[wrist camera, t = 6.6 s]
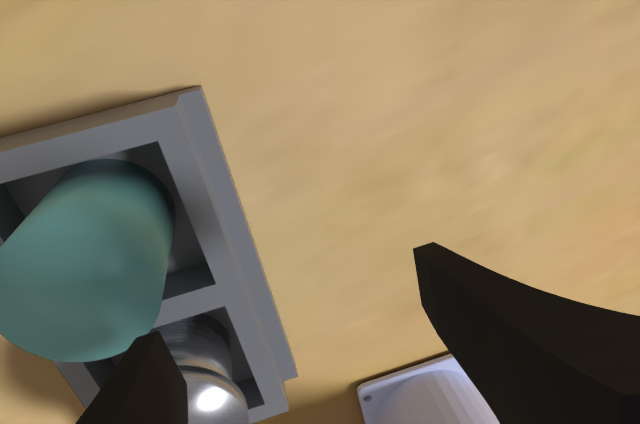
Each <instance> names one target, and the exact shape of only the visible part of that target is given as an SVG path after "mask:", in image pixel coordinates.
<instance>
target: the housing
mask: <svg viewBox="0 0 640 424" xmlns="http://www.w3.org/2000/svg"><path fill="white" fill-rule="evenodd" d="M96 159H118V160H124V161H128V162H131V163H134V164H137V165H139V166H141V167H143V168H145V169H147V170H148V171H150V172H151V173H153V174H154V175H155V176H156V177H157V178H158V179H160V181H161V182H162V183H163V184H164V185H165V187H166V188H167V189H168V191H169V193H170V195H171V197H172V199H173V202H174V206H175V215H176V218H175V226H174V232H173V238H172V244H171V249H170V255H169V261H168V267H167V273H166V279H165V285H164V291H163V297H162V303H161V308H160V312H159V315H158V318H157V320H156V322H155V324H154V326H153V327H152V329H151V330H150V331H149V333H152V332H155V331H158V330H159V332H160V334H161V336H162V338H163V340H164V341H165V343H166V345H167V347H168V349H169V351H170V353H171V355H172V356H173V358H174V360H175V362H176V364H177V366H178V368H179V370H180V371H181V373H182V375H183V377H184V379H185V381H186V383H187V395H188V424H252V423H255V422H258V421H261V420H264V419H267V418H270V417H272V416H275V415H278V414H281V413H284V412H287V411H289V406H288V400H287V395H286V389H285V384H284V381H286V380H289V379H292V378H295V377H298V374H297V370H296V365H295V361H294V358H293V356H292V353H291V350H290V347H289V344H288V341H287V338H286V335H285V332H284V329H283V326H282V323H281V320H280V317H279V314H278V311H277V308H276V305H275V302H274V299H273V296H272V293H271V291H270V288H269V285H268V282H267V279H266V276H265V273H264V270H263V267H262V264H261V261H260V258H259V255H258V252H257V249H256V246H255V243H254V240H253V237H252V234H251V231H250V228H249V226H248V223H247V220H246V217H245V214H244V211H243V208H242V205H241V202H240V199H239V196H238V193H237V190H236V187H235V184H234V181H233V178H232V175H231V172H230V169H229V166H228V163H227V161H226V158H225V155H224V152H223V149H222V146H221V143H220V140H219V137H218V134H217V131H216V128H215V125H214V122H213V119H212V116H211V113H210V110H209V107H208V104H207V101H206V98H205V95H204V93H203V90H202V87H201V85H199V86H196V87H192V88H188V89H184V90H180V91H177V92H173V93H169V94H165V95H161V96H158V97H154V98H150V99H146V100H142V101H139V102H135V103H131V104H127V105H123V106H120V107H116V108H112V109H108V110H104V111H100V112H97V113H93V114H89V115H85V116H81V117H78V118H74V119H70V120H66V121H62V122H59V123H55V124H51V125H47V126H43V127H40V128H36V129H32V130H28V131H24V132H21V133H17V134H13V135H9V136H5V137H2V138H0V247H1V246H2V245H3V244H4V243H5V241H6V240H7V239H8V238H9V237H10V236H11V235H12V233H13V232H14V231H15V230H16V229H17V228H18V227H19V225H20V224H21V223H22V222H23V221H24V220H25V219H26V217H27V216H28V215H29V214H30V213H31V212H32V211H33V209H34V208H35V207H36V206H37V205H38V204H39V203H40V201H41V200H42V199H43V198H44V197H45V196H46V195H47V193H48V192H49V191H50V190H51V189H52V188H53V187H54V185H55V184H56V183H57V182H58V181H59V180H60V179H61V177H62V176H63V175H65V174H66V173H67V172H68V171H69V170H71V169H72V168H74V167H76V166H78V165H80V164H82V163H85V162H88V161H92V160H96ZM149 333H148V334H149ZM126 351H127V350H126ZM126 351H124V352H122V353H120V354H117V355H115V356H112V357H109V358H105V359H101V360H96V361H89V362H64V361H56V360H52V361H53V362H54V364H55V365H56V366H57V368H58V369H59V371H60V372H61V374H62V375H63V377H64V378H65V379H66V381H67V382H68V384H69V385H70V387H71V388H72V389H73V391H74V392H75V394H76V395H77V397H78V398H79V400H80V401H81V402H82V404H83V405H84V407H85V408H86V409H87V408H88V406H89V405H90V404H91V402H92V401H93V399H94V398H95V396H96V395H97V393H98V392H99V391H100V389H101V388H102V386H103V385H104V383H105V382H106V380H107V379H108V378H109V376H110V375H111V373H112V372H113V370H114V369H115V367H116V366H117V364H118V363H119V361H120V360H121V358H122V357H123V355H124V354H125V352H126Z"/></svg>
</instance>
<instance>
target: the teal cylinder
mask: <svg viewBox="0 0 640 424" xmlns="http://www.w3.org/2000/svg"><path fill="white" fill-rule="evenodd" d="M175 218H176V215H175V206H174V202H173V199H172V197H171V195H170V193H169V191H168V189H167V188H166V187H165V185H164V184H163V183H162V182H161V181H160V179H158V178H157V177H156V176H155V175H154V174H153V173H151V172H150V171H148V170H147V169H145V168H143V167H141V166H139V165H137V164H134V163H131V162H128V161H124V160H118V159H96V160H92V161H88V162H85V163H82V164H80V165H78V166H76V167H74V168H72V169H71V170H69V171H68V172H67V173H66V174H65V175H63V176H62V177H61V179H60V180H59V181H58V182H57V183H56V184H55V185H54V187H53V188H52V189H51V190H50V191H49V192H48V193H47V195H46V196H45V197H44V198H43V199H42V200H41V201H40V203H39V204H38V205H37V206H36V207H35V208H34V209H33V211H32V212H31V213H30V214H29V215H28V216H27V217H26V219H25V220H24V221H23V222H22V223H21V224H20V225H19V227H18V228H17V229H16V230H15V231H14V232H13V233H12V235H11V236H10V237H9V238H8V239H7V240H6V241H5V243H4V244H3V245H2V246H1V247H0V334H1V335H3V336H4V337H5V338H6V339H7V340H8V341H10V342H11V343H13V344H14V345H16V346H17V347H19V348H21V349H23V350H25V351H27V352H29V353H32V354H34V355H37V356H40V357H43V358H46V359H51V360H56V361H64V362H89V361H96V360H101V359H105V358H109V357H112V356H115V355H117V354H120V353H122V352H124V351H126V350H127V349H128V348H129V347H130V345H131V344H132V342H133V341H134V340H135V338H137V337H140V336H143V335H146V334H148V333H149V331H150V330H151V329H152V327H153V326H154V324H155V322H156V320H157V318H158V315H159V312H160V308H161V303H162V297H163V291H164V285H165V279H166V273H167V267H168V261H169V255H170V249H171V244H172V238H173V232H174V226H175Z"/></svg>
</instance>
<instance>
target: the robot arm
mask: <svg viewBox="0 0 640 424" xmlns="http://www.w3.org/2000/svg"><path fill="white" fill-rule="evenodd" d="M413 252H414V259H415V265H416V271H417V278H418V284H419V290H420V297H421V303H422V306H423V308H424V310H425V312H426V314H427V316H428V318H429V320H430V321H431V323H432V325H433V327H434V329H435V330H436V332H437V334H438V336H439V337H440V338H441V340H442V341H443V343H444V344H445V345H446V347H447V348H448V350H449V351H450V352H451V354H448V355H445V356H442V357H439V358H436V359H433V360H430V361H427V362H424V363H421V364H418V365H415V366H412V367H409V368H406V369H403V370H400V371H397V372H394V373H391V374H388V375H385V376H383V377H380V378H377V379H374V380H371V381H368V382H365V383H362V384H360V385H359V386H358V388H357V394H358V398H359V402H360V406H361V410H362V414H363V417H364V421H365V424H640V316H636V315H631V314H626V313H621V312H617V311H612V310H608V309H604V308H600V307H596V306H592V305H588V304H584V303H580V302H577V301H573V300H570V299H567V298H563V297H560V296H557V295H554V294H551V293H548V292H544V291H542V290H539V289H536V288H533V287H530V286H528V285H525V284H523V283H520V282H518V281H515V280H513V279H510V278H508V277H506V276H503V275H501V274H499V273H496V272H494V271H492V270H490V269H487V268H485V267H483V266H481V265H479V264H477V263H475V262H473V261H471V260H469V259H467V258H465V257H463V256H461V255H459V254H457V253H455V252H453V251H451V250H449V249H447V248H445V247H443V246H441V245H439V244H436V243H434V242H432V243H429V244H426V245H423V246H420V247H417V248H413ZM365 396H366V397H365ZM76 424H188V395H187V383H186V381H185V379H184V377H183V375H182V373H181V371H180V370H179V368H178V366H177V364H176V362H175V360H174V358H173V356H172V355H171V353H170V351H169V349H168V347H167V345H166V343H165V341H164V340H163V338H162V336H161V334H160V332H159V330H158V331H155V332H152V333H149V334H146V335H143V336H140V337H137V338H135V340H134V341H133V342H132V344H131V345H130V347H129V348H128V349H127V351H126V352H125V354H124V355H123V357H122V358H121V360H120V361H119V363H118V364H117V366H116V367H115V369H114V370H113V372H112V373H111V375H110V376H109V378H108V379H107V380H106V382H105V383H104V385H103V386H102V388H101V389H100V391H99V392H98V393H97V395H96V396H95V398H94V399H93V401H92V402H91V404H90V405H89V406H88V408H87V409H86V410H85V412H84V413H83V414H82V416H81V417H80V418H79V420H78V421H77V422H76Z"/></svg>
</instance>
